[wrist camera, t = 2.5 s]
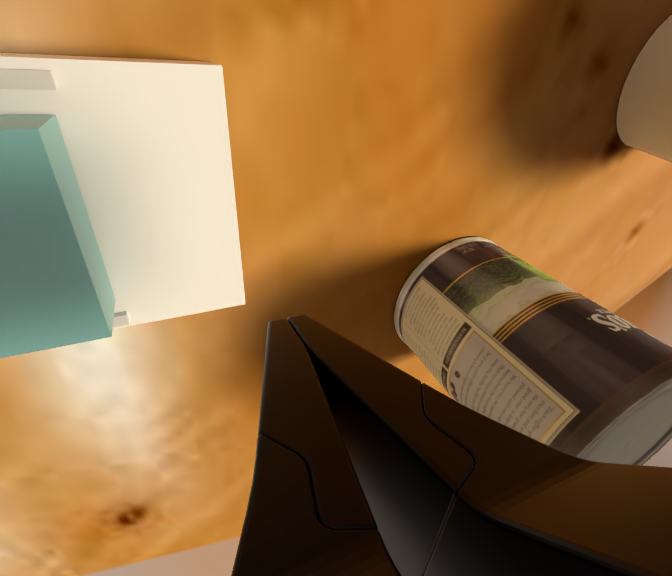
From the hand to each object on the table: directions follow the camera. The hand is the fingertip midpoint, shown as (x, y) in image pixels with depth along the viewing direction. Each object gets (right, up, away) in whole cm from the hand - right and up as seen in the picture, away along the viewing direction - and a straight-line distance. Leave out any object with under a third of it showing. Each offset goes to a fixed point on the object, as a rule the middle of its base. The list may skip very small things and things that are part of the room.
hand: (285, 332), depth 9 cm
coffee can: (+10, 0, +20) cm, 23 cm away
